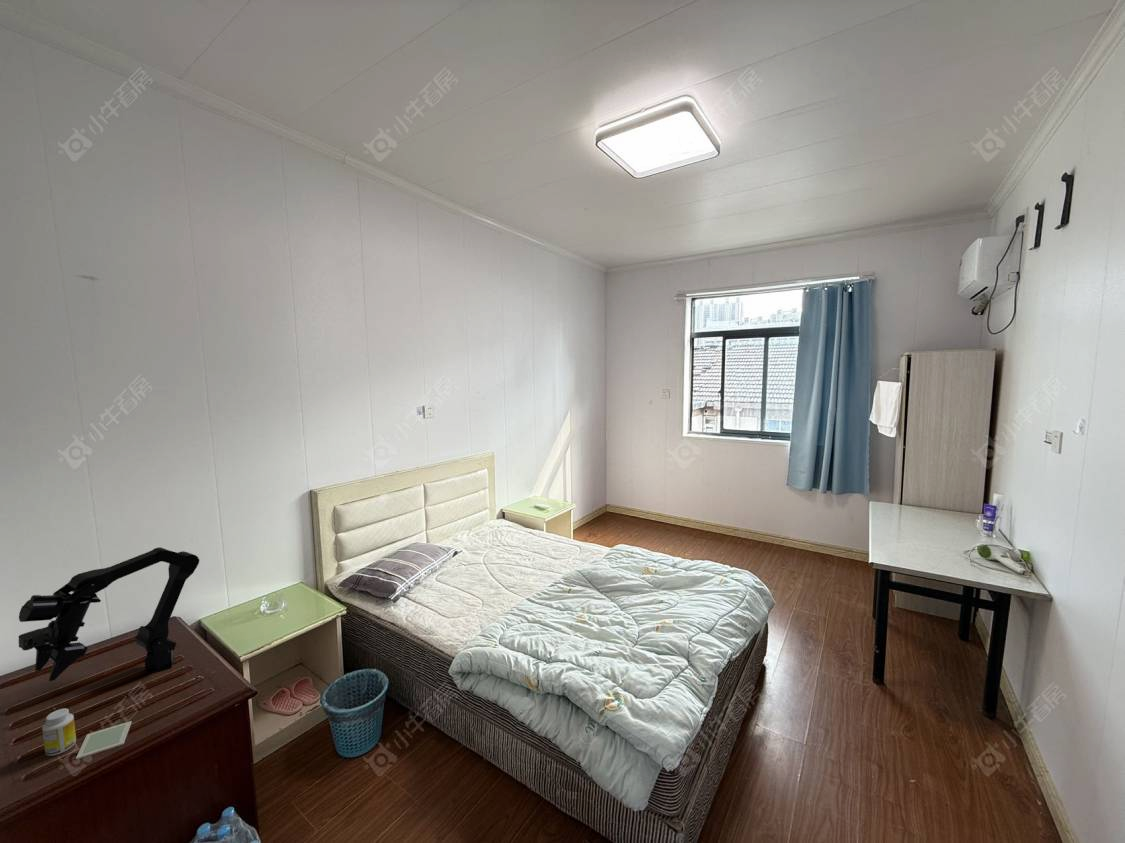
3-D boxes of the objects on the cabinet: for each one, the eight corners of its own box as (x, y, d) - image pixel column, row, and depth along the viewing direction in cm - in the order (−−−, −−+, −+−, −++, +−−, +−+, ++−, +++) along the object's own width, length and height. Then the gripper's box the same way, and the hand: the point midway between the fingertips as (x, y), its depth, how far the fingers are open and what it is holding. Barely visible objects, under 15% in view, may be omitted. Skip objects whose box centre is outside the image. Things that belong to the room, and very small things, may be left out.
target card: (131, 722, 127) (131, 720, 127) (123, 744, 120) (123, 742, 120) (87, 735, 122) (87, 734, 122) (75, 759, 115) (75, 758, 115)
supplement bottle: (75, 736, 122) (72, 702, 121) (76, 747, 118) (73, 713, 117) (45, 748, 118) (41, 714, 116) (45, 761, 114) (41, 725, 113)
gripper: (17, 612, 126) (-11, 671, 122) (45, 630, 118) (16, 693, 114) (69, 609, 136) (45, 663, 132) (98, 625, 128) (73, 683, 124)
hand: (44, 675), depth 125 cm, fingers open, 9 cm apart
